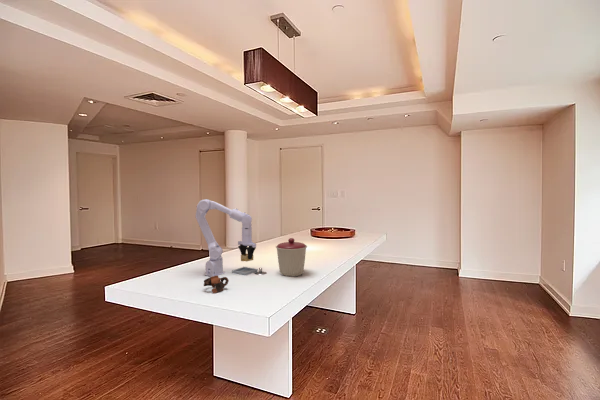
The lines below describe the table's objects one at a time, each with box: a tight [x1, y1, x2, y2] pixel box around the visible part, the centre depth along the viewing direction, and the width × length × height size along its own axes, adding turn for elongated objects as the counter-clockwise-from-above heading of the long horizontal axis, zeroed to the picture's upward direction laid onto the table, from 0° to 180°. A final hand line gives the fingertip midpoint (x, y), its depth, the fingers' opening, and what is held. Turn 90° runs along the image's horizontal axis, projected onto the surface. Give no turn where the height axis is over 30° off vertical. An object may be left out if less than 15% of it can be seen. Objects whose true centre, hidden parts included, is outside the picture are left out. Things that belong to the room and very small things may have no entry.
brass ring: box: [240, 253, 254, 262], centre depth 190 cm, size 6×5×3 cm
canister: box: [275, 237, 308, 277], centre depth 187 cm, size 18×18×21 cm
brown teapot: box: [203, 275, 229, 294], centre depth 161 cm, size 12×10×8 cm
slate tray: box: [231, 266, 259, 276], centre depth 191 cm, size 11×11×2 cm
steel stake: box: [253, 267, 268, 276], centre depth 189 cm, size 7×7×3 cm
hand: (247, 258), depth 191 cm, fingers closed on brass ring, 5 cm apart
